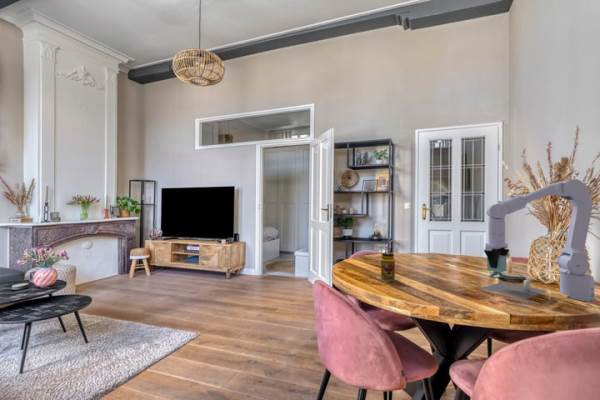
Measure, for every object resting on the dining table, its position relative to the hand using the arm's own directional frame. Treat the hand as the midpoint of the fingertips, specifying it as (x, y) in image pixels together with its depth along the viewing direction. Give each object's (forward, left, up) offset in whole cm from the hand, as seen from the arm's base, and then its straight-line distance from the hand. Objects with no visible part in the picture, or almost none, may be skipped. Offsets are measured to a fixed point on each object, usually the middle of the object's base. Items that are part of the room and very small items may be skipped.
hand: (496, 267), depth 124 cm
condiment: (+37, +23, -10) cm, 45 cm away
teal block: (0, 0, -1) cm, 1 cm away
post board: (-5, -2, -9) cm, 11 cm away
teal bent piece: (+8, -20, -10) cm, 24 cm away
